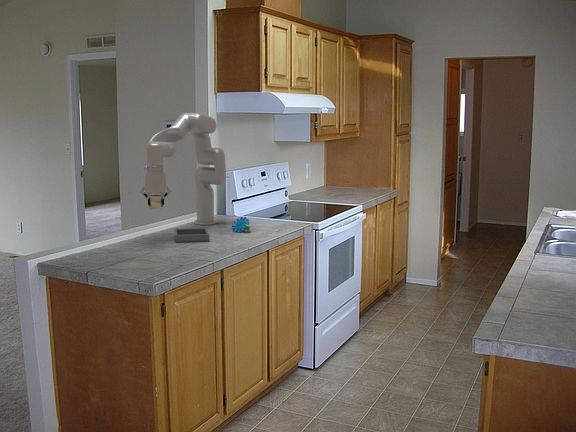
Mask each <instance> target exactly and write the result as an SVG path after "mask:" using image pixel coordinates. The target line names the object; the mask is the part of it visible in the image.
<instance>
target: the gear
mask: <svg viewBox="0 0 576 432" xmlns="http://www.w3.org/2000/svg"><path fill="white" fill-rule="evenodd" d="M232 223H233V224H231V229H232V231H233V232H235V233H241V231H242V232H245V231H248V232H249V233H251V230H250V229H251V226H250V222H249V218H247V217H246V216H244V217H243V216H240V217H239V218H236V221H235V220H234V221H233V222H232Z"/></svg>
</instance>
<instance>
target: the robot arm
mask: <svg viewBox="0 0 576 432" xmlns="http://www.w3.org/2000/svg"><path fill="white" fill-rule="evenodd" d="M216 130H217V121H216V119H215V118H213V117H212V116H209V115H207V114H204V113H201V112H184V113H181V114H180V115H179V116H178V117H177V118H176V119H175V121H174V122H173V123H172V125H171V126H170V127H168V128H165V129H163V130H161V131H159V132H158V133H156V134H154V135H153V136H152V137H151V138H150V139H149V141H148V143H147V144H146V149H145V150H146V166H143V170H145V174H144V186H143V187H142V188H141V190H140V191H139V193H140V194H142V195H143V197H145V198H146V199H147V206H149V208H151V201H150V195H152V194H160V195H161V208H163V207H164V206H165V198H166V197H167V196H168V195H169V194H171V192H172V189H170V188H169V186H168V185H167V177H166V172H165V171H164V158H172V157H174V155H175V154H176V151H177V147H176V145H175V144H174V143H178V142H180V141H182V140H183V139H184V138H185V137H186V135H187V134H188V133H190V134H191V135H192V136H193V140H194V144H195V145H194V146H195V159H196V162H197V164H199V165H204V166H199V167H197V168H196V169H195V171H194V180H195V187H196V219H195V220H194V221H193V223H194V225H199V226H211V225H216V224H217V223H218V221H217V220H216V219H215V197H214V196H215V192H214V188H213V187H212V185H215V186H221V185H224V184H225V182H226V181H227V168H226V154H225V152H224V150H223V149H222V148H219V147H212V142H211V136H210V134H211V135H212V134H213V133H215V132H216ZM213 166H214V167H213Z"/></svg>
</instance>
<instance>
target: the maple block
mask: <svg viewBox="0 0 576 432" xmlns="http://www.w3.org/2000/svg"><path fill="white" fill-rule="evenodd" d="M161 197H162V196H161V194H151V195H150V201H151V207H150V209H151V210H158V209H159V210H160V209H162V207H161Z"/></svg>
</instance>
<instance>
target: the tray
mask: <svg viewBox="0 0 576 432" xmlns="http://www.w3.org/2000/svg"><path fill="white" fill-rule="evenodd" d="M174 241H175V243H176V244H178V243H179V244H180V243H209V242H210V233H209V231H208V229H207V227H200V228H198V227H197V228H174Z"/></svg>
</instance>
